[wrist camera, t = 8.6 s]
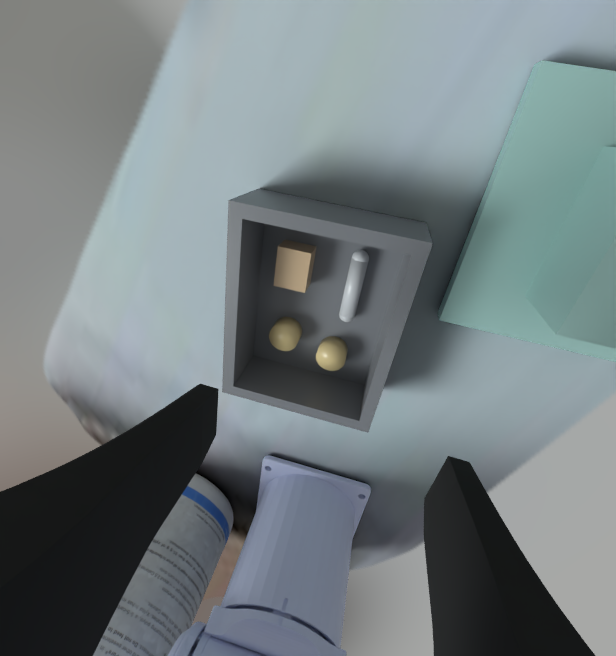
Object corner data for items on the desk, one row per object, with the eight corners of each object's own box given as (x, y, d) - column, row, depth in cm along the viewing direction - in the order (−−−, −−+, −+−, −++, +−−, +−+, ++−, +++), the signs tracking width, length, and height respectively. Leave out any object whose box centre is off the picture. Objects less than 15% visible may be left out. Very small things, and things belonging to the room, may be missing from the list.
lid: (605, 349, 17) (670, 415, 13) (436, 309, 18) (448, 360, 14) (780, 103, 12) (977, 87, 8) (530, 66, 13) (591, 35, 9)
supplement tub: (160, 442, 28) (-32, 692, 15) (257, 504, 29) (151, 785, 17) (125, 492, 33) (-44, 713, 20) (209, 544, 34) (98, 783, 21)
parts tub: (372, 389, 21) (368, 432, 18) (246, 356, 22) (222, 392, 19) (426, 222, 16) (432, 243, 13) (258, 188, 17) (228, 200, 14)
